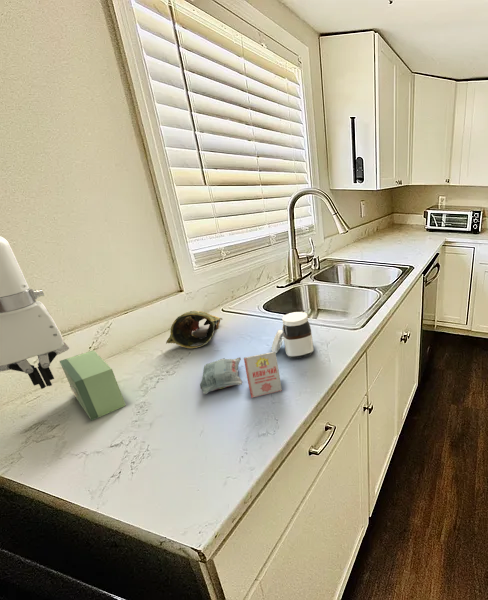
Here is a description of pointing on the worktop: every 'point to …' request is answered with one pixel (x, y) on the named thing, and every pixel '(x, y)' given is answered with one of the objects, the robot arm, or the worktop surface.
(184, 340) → the pot
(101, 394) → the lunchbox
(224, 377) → the packaged food
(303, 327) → the spread jar
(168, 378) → the worktop surface
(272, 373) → the cream red carton
